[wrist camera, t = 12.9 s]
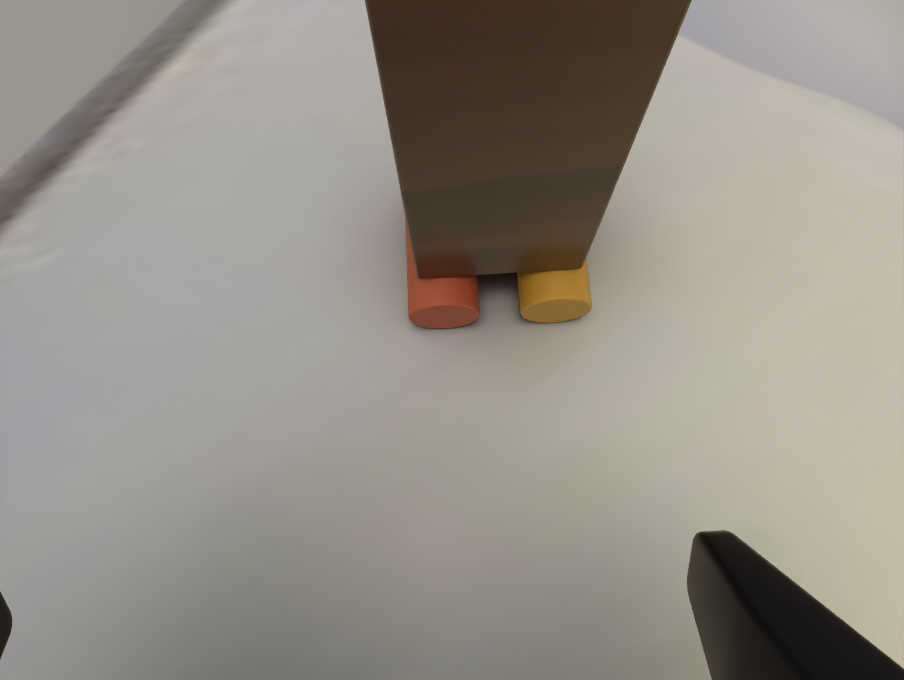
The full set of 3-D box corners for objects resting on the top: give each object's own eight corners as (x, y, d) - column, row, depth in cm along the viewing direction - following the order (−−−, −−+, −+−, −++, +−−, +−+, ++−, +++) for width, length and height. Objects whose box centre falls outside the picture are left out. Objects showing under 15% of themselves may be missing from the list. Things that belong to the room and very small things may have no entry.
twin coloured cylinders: (585, 321, 24) (598, 297, 22) (411, 331, 24) (405, 308, 22) (568, 173, 26) (578, 136, 23) (406, 182, 26) (400, 146, 23)
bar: (582, 269, 22) (719, -60, 10) (417, 279, 22) (357, -37, 10) (568, 162, 23) (676, -247, 11) (412, 171, 23) (353, -225, 11)
